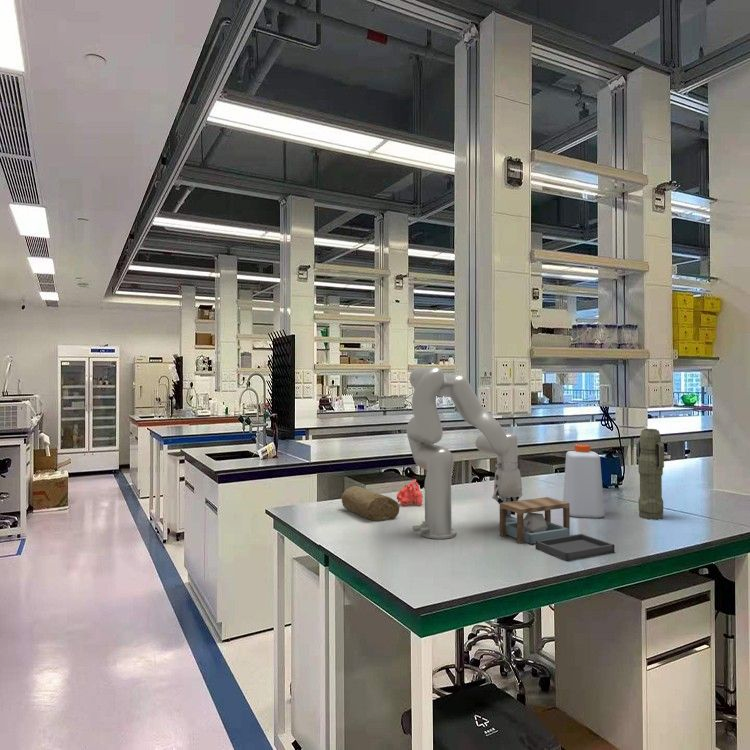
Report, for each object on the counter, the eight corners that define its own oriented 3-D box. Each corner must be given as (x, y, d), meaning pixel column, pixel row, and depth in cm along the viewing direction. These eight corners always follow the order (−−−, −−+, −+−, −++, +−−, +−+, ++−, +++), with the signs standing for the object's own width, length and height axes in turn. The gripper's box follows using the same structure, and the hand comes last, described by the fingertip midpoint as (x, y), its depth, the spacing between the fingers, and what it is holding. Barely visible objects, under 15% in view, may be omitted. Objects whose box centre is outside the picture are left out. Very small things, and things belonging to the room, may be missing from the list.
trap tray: (566, 561, 171) (566, 553, 171) (535, 548, 184) (535, 541, 184) (614, 552, 179) (614, 544, 179) (581, 540, 192) (581, 533, 192)
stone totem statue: (656, 521, 216) (656, 431, 217) (630, 515, 227) (630, 428, 227) (672, 519, 220) (671, 430, 220) (645, 512, 231) (645, 427, 231)
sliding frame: (569, 537, 195) (569, 508, 195) (530, 543, 188) (530, 513, 188) (523, 521, 217) (523, 495, 217) (487, 526, 210) (487, 499, 210)
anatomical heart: (395, 509, 246) (391, 482, 249) (417, 506, 252) (413, 480, 255) (406, 507, 239) (402, 480, 241) (429, 504, 245) (424, 477, 248)
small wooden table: (520, 543, 189) (519, 509, 189) (499, 535, 199) (499, 503, 199) (569, 535, 198) (569, 503, 198) (547, 528, 208) (547, 497, 208)
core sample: (367, 506, 246) (367, 483, 246) (400, 519, 223) (400, 494, 223) (338, 510, 239) (338, 486, 239) (369, 524, 216) (369, 498, 216)
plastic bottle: (606, 519, 221) (605, 448, 221) (566, 517, 224) (565, 447, 224) (599, 510, 236) (598, 443, 236) (561, 508, 239) (561, 442, 239)
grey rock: (519, 533, 203) (515, 516, 198) (536, 520, 206) (533, 502, 201) (535, 547, 197) (532, 529, 192) (553, 533, 200) (550, 515, 194)
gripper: (495, 469, 206) (496, 519, 206) (531, 466, 213) (531, 514, 212) (483, 466, 212) (483, 514, 212) (518, 463, 219) (518, 510, 219)
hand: (507, 514), depth 212 cm, fingers open, 3 cm apart
